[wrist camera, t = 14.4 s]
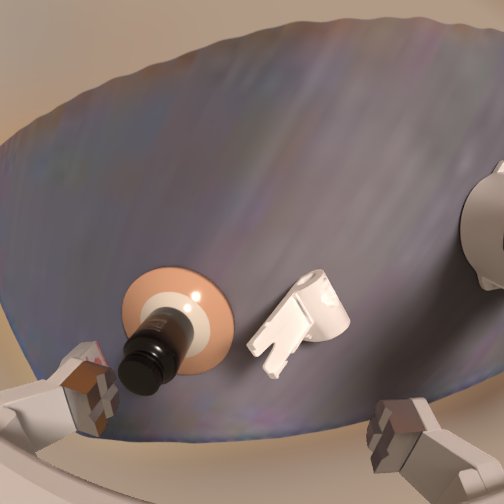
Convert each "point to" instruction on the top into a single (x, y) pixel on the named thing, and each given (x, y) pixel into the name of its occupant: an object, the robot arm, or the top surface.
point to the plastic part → (300, 321)
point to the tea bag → (86, 353)
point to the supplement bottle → (155, 351)
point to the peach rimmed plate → (191, 304)
